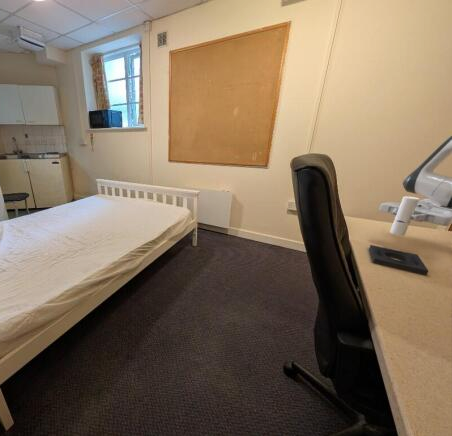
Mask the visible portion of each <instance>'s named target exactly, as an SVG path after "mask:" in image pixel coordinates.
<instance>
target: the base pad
mask: <svg viewBox="0 0 452 436" xmlns="http://www.w3.org/2000/svg"><path fill="white" fill-rule="evenodd" d="M368 250H369V254H370V257H371V261H372V264H375V265H376V264H377V265H380V266H384V267H388V268H393V269H397V270H401V271H405V272H409V273H414V274H416V275H417V274H418V275H421V276H427V275H428V273H429V269H428V267H427V266H426V265H425V264H424V262H423V260H422V259H421V257H420V256H419V254H418V253H417V254H416V253H412V252H407V251H402V250H397V249H393V248H387V247H383V246H378V245H373V244H370V245H369V248H368Z"/></svg>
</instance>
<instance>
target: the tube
mask: <svg viewBox="0 0 452 436" xmlns="http://www.w3.org/2000/svg"><path fill="white" fill-rule="evenodd" d="M419 200H420V198H419V197H416V196H409V195H408V196H406V195H405V196H403V197H402V199H401V201H400V207H399V209H398V212H397V215H395V217H394V220H393V223H392V225H391V227H390V230H389V233H391V234H392V235H395V236H405V235H406V233H407V231H408V229H409V226H410V224H411V221H412V220H411V219H410V217H411V215H413V214H414V211H415V209H416V206H417V204H418V202H419Z"/></svg>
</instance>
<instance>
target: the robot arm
mask: <svg viewBox="0 0 452 436" xmlns="http://www.w3.org/2000/svg"><path fill="white" fill-rule="evenodd" d="M450 155H452V135H450V136H449V137H447V139H445V141H443V142H442V143H441V144H440V145H439V146H438V147H437V148H436V149H435V150H434V151H433V152H432V153H431V154H430V155H429V156H428V157H427V158H425V160H424V161H423V162H422V163H421V164H420V165H419V166H417V168H415V169H414V170H413V171H412V172H410V173H409V174H408V175H407V176H406V177H405V179H404V180H403V182H402V186H403V188H404V190H405V191H406V192H407V193H410V194H416V195H420V196H422V197H426V198H424V199H419V202H418V204H417V206H416V209H415V211H414V214H413V215H411V217H410V219H411V221H414V222H418V223H421V222H422V223H423V222H424V223H429V224H434V225H438V226H442V227H448V226H450V225H451V223H452V176H451V177H450V176H447V175H443V174H440V173H435V172H434V170H435V169H437V167H438V166H439V165H441V164H442V163H443V162H444V161H445V160H446V159H447V158H448V157H449V156H450ZM400 204H401V202H394V201H388V202H387V201H385V202H382V203H381V204H380V206H379V209H378V210H379V212H383V213H387V214H390V215H392V216H396V215H397V212H398V209H399V207H400Z"/></svg>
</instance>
